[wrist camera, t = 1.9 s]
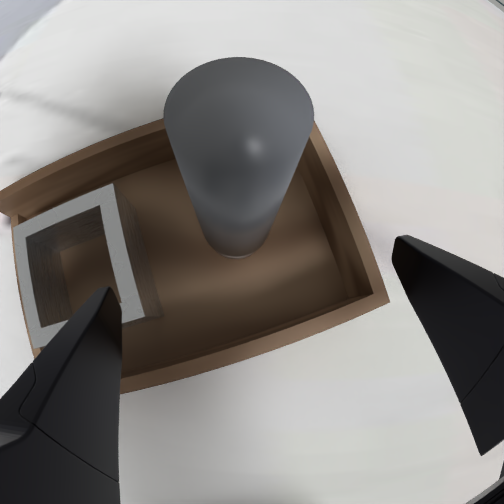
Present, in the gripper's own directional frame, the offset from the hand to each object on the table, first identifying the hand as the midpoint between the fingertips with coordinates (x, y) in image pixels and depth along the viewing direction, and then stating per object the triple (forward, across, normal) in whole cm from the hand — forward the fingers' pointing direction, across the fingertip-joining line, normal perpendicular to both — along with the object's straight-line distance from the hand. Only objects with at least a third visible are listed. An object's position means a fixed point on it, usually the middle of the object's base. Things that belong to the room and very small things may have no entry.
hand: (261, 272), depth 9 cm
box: (+10, +5, +6) cm, 13 cm away
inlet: (+9, +10, +6) cm, 15 cm away
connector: (+10, 0, +5) cm, 11 cm away
